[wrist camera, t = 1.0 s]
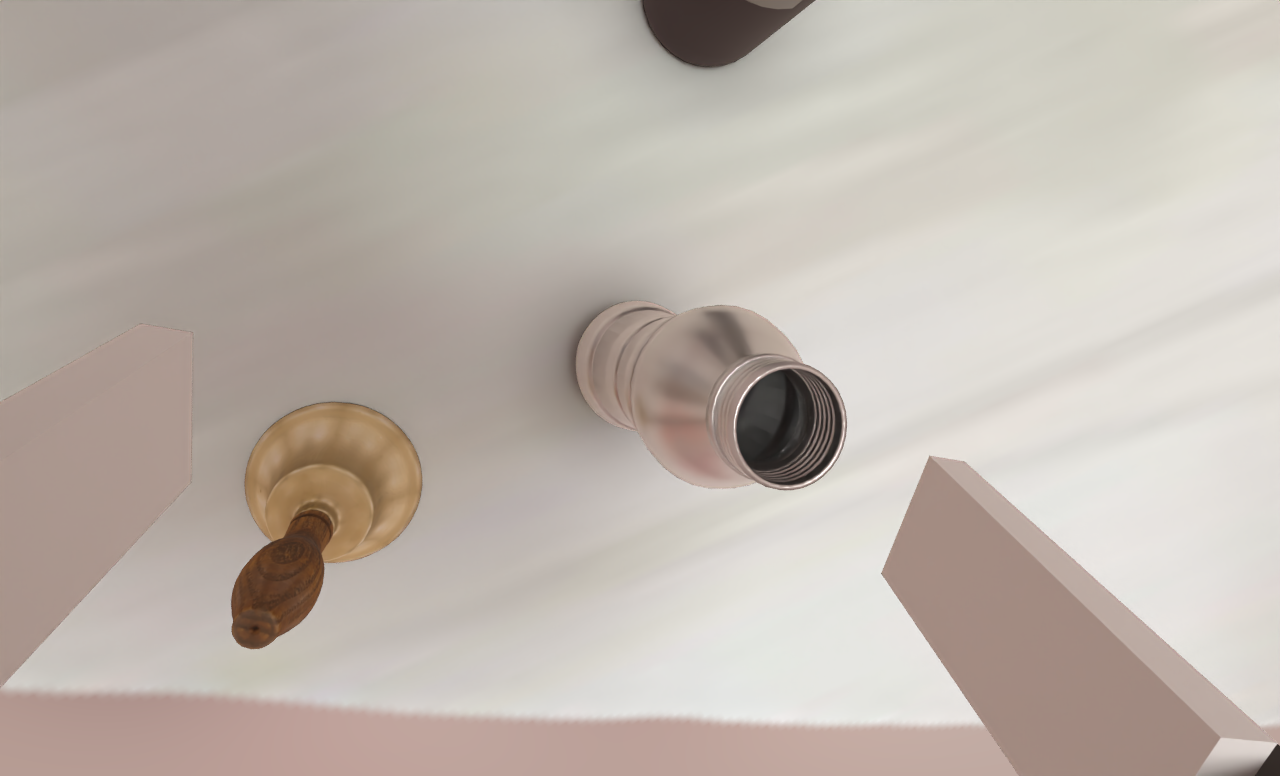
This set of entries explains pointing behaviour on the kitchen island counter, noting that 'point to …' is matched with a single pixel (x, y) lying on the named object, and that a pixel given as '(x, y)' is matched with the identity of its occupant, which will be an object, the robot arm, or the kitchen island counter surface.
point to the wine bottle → (717, 26)
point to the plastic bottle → (712, 394)
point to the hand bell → (319, 508)
